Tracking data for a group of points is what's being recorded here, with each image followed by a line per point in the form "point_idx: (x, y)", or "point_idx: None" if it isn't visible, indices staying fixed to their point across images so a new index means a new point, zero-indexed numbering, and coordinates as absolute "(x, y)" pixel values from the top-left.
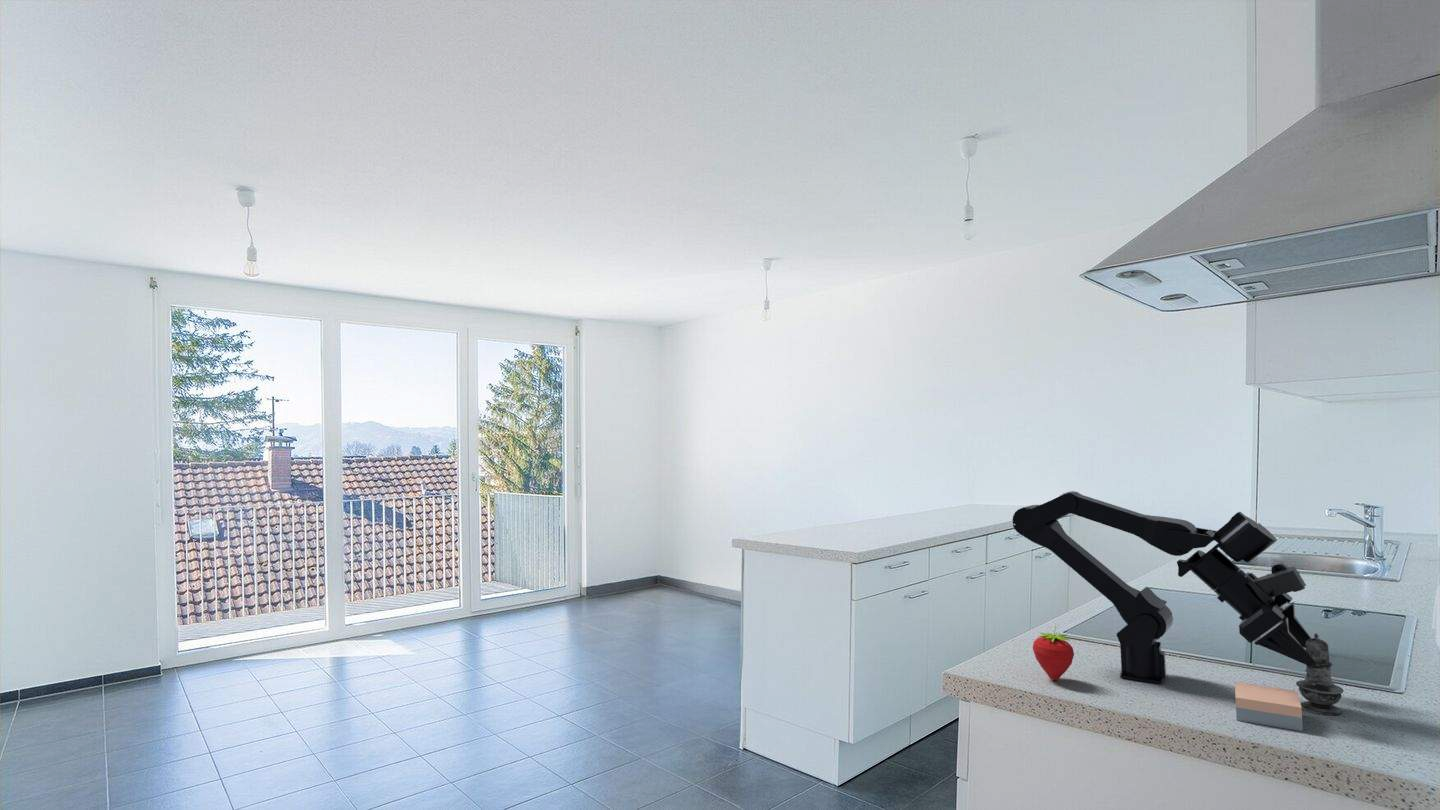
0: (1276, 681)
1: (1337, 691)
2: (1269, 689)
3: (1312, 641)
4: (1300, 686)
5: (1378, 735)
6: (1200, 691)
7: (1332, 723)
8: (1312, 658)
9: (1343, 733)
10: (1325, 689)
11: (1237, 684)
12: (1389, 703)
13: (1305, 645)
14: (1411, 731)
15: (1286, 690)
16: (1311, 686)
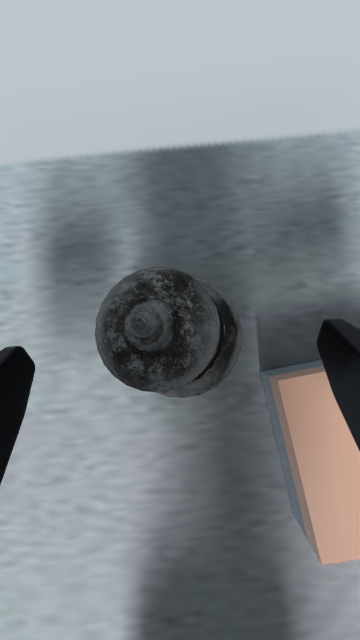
0: (12, 456)
1: (203, 285)
2: (328, 454)
3: (196, 347)
4: (221, 380)
5: (292, 216)
6: (248, 616)
7: (278, 300)
8: (348, 328)
9: (336, 272)
10: (222, 312)
11: (346, 553)
12: (29, 225)
13: (19, 404)
14: (210, 170)
15: (298, 408)
16: (222, 350)
